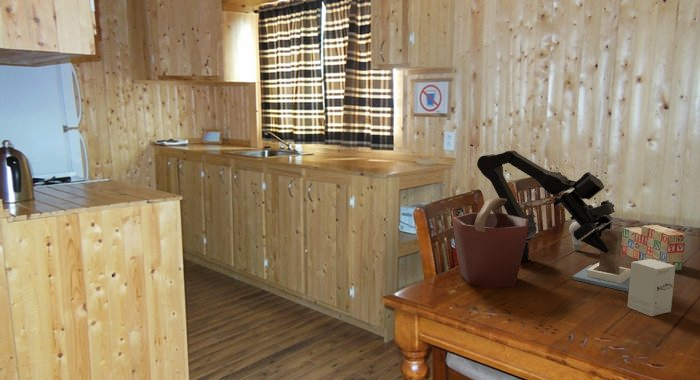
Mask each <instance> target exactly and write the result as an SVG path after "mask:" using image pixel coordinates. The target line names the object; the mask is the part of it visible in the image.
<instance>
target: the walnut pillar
mask: <svg viewBox="0 0 700 380" xmlns="http://www.w3.org/2000/svg"><path fill="white" fill-rule="evenodd" d="M600 238H601V239H602V241H603V242H604V244H605V245H606V247H607V248H608V250H609V252H607V253H604V252H603V251H601V250H599V262H598V263H599V271H601V272H606V273H611V274H616V275H619V267H621V266H620V264H621V254H622V241H623V230H615V229H612V230H611V229H605V230H604V231H602V234H601V237H600Z"/></svg>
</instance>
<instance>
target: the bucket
mask: <svg viewBox="0 0 700 380" xmlns="http://www.w3.org/2000/svg"><path fill="white" fill-rule="evenodd" d="M506 201H507V199H504V198H499V197H491V198H489V199H487V200H486V201H485V203H484V204H483V205H482V207H481V209H480V210H479V212H469V213H466V214H465V213H464V214H462V215H459V216H458V215H457V216H453V217H452V230H453V236H454V241H455V247H456V255H457V259H458V265H459V270H460V277H462V278H463V279H464V280H465V281H466V282H467V284H468V285H473V286H477V287H478V286H479V287H484V288H490V289H498V288H506V287H513V286H516V283H517V279H518V276H519V272H520V267H521V264H522V262H521V260H522V256H523V252H524V248H525V244H526V240H527V234H528V219H526V218H522V217H517V216H513V215H508V214H507V213H504V212H503V207H504V206H503V205H504V204H505V203H506Z"/></svg>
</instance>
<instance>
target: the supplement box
mask: <svg viewBox="0 0 700 380" xmlns="http://www.w3.org/2000/svg"><path fill="white" fill-rule="evenodd" d="M630 263H631V265H630V269H631V273H630V284H629V292H628V297H627V308H630V309H631V310H634V311H636V312H639V313H641V314H645V315H647V316H649V317H654V316H659V315H663V314H666V313H671V310H672V302H673V294H674V284H675V275H676V274H675V273H676V270H675V267H676V266H674V265H671V264H668V263H664V262H660V261H657V260H653V259H646V260H641V261H640V260H637V261H635V260H634V261H632V262H630Z"/></svg>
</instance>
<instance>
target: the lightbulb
mask: <svg viewBox="0 0 700 380" xmlns="http://www.w3.org/2000/svg"><path fill="white" fill-rule="evenodd" d="M579 227H581V226H580V225H579V224H578V223H577V222H576V221H573V222H572V223H571V224H570V226H569V229H568V231H569V233H570V235H571V239H572V244H573V249H574V250H575V251H581V249H582V244H583V242H581V241H580V240H582V239H583V237H582V238H581V239H580V240H578V241H577V239H576V238H575V237H574V236H573V235H574V231H575V230H577V229H578V228H579Z"/></svg>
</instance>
